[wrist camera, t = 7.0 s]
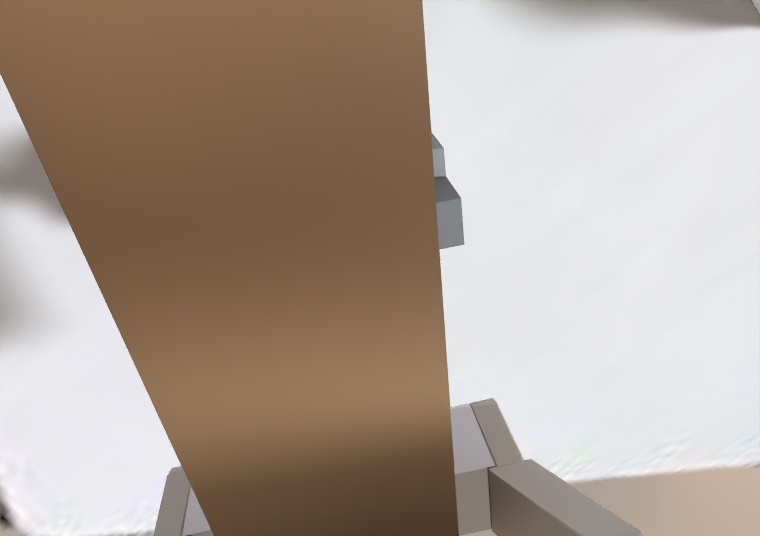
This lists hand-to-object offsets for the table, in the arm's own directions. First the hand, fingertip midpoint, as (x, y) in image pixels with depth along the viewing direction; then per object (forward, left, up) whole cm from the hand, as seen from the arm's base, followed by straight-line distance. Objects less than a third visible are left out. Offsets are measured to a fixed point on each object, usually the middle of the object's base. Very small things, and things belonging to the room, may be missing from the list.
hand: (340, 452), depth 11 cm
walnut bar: (0, 0, -2) cm, 2 cm away
